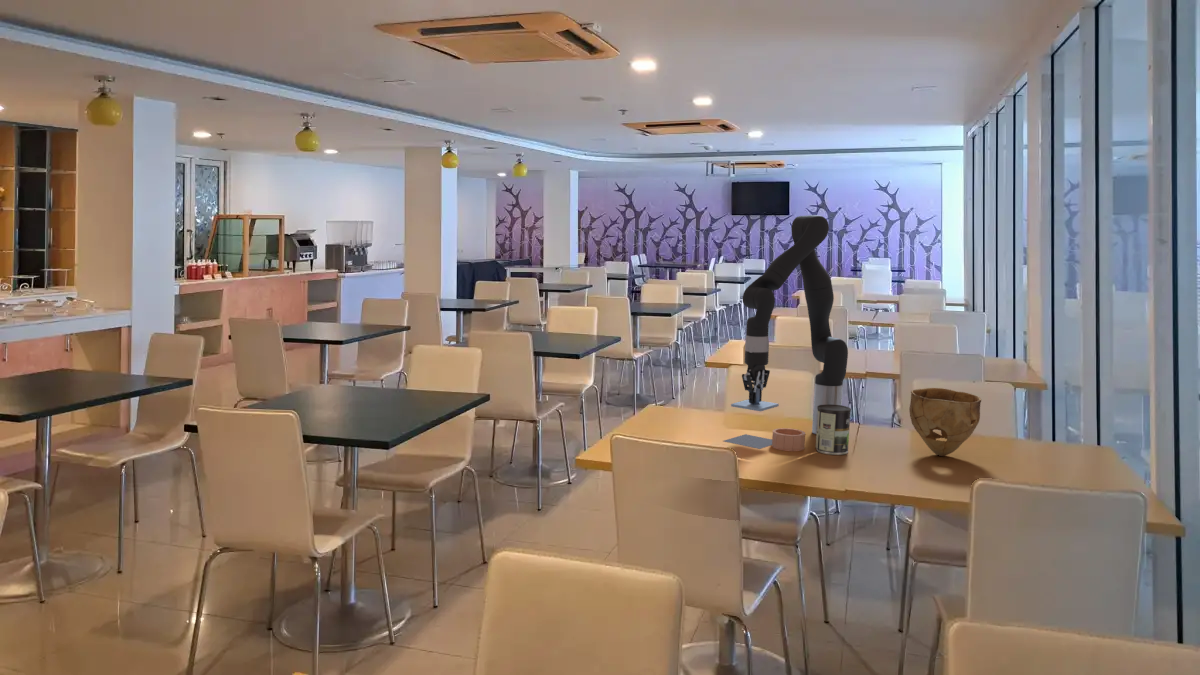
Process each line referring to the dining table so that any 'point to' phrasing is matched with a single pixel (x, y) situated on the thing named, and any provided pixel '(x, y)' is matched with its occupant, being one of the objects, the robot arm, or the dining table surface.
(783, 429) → the faceted pink cup
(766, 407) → the lid
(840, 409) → the coffee can
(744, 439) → the mat
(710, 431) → the dining table surface
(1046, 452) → the dining table surface
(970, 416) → the bowl
